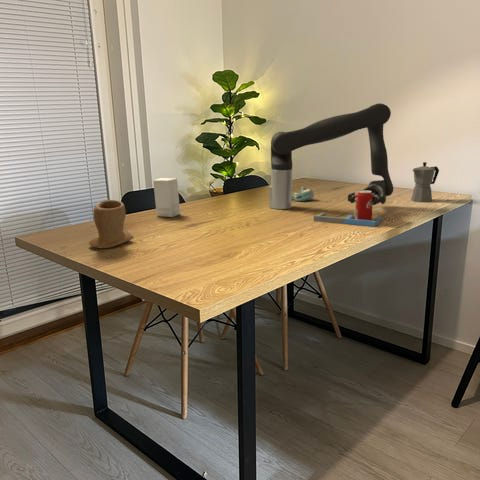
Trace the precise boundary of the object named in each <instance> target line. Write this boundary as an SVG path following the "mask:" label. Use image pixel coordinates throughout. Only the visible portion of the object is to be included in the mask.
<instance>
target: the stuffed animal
mask: <svg viewBox="0 0 480 480" xmlns="http://www.w3.org/2000/svg"><path fill="white" fill-rule="evenodd" d="M314 196H315V194H314V191H313V189H311V188H306V187H304V186H301V190H300V193H299V192H293V194H292V199H293V201H295V202H299V203H303V202H306V201H312V199H314Z"/></svg>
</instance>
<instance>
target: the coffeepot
mask: <svg viewBox="0 0 480 480" xmlns="http://www.w3.org/2000/svg"><path fill="white" fill-rule="evenodd" d="M422 165H423V166H419V167H418V166H417V167H414V168H413V169H412V172H413V179H414V183H415V185H414V187H413V191H412V194H411V198H410V200H411V201H412V202H417V203H430V201H431V202H432V201H433V196H432V195H433V194H432V187H431V185H433V184H435V183H436V180H437V178H438V176H439V172H440V169H439V167H438V166H430V167H429V166H427V162H426V161H425V162H422Z"/></svg>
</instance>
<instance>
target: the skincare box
mask: <svg viewBox="0 0 480 480" xmlns="http://www.w3.org/2000/svg"><path fill="white" fill-rule="evenodd" d="M152 184H153V190H154V191H153V192H154V202H155V211H156V213H155V214H156V216H157V217H165V218H168V217H169V218H173V217H176V216H179V215H181V211H180V198H179V185H178V178H175V177H174V178H171V177H159V178H157V179H153V180H152Z"/></svg>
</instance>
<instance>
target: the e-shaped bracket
mask: <svg viewBox="0 0 480 480" xmlns="http://www.w3.org/2000/svg"><path fill="white" fill-rule="evenodd" d="M325 213H326V212H324V211H323V212H321V213H319V214H317V215H313V221H314V222H321V223H332V224H333V223H334V224H343V225H344V224H345V225H351V226H352V225H354V226H362V227H373V228H375V227H377V225H378V224H380V222H382V217H377V219H375V220H371V221H370V220H360V219H355V218H354V214H347V215H346V216H345V217H338V216H337V217H336V216H326V215H325Z"/></svg>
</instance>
